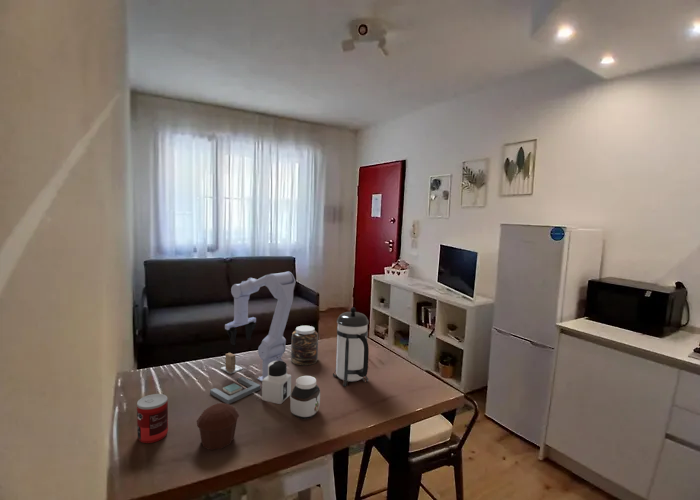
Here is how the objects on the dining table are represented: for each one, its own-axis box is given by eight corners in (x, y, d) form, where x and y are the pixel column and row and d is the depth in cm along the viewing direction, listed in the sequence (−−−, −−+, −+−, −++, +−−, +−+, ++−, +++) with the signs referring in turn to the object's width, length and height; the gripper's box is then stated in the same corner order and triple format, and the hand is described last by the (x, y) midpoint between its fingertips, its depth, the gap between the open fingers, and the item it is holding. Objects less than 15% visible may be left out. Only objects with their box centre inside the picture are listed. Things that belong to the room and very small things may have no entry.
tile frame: (260, 389, 133) (260, 385, 133) (228, 404, 122) (228, 400, 121) (242, 380, 139) (242, 376, 139) (210, 393, 128) (210, 389, 128)
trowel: (232, 365, 153) (233, 350, 152) (242, 369, 149) (243, 355, 148) (220, 369, 148) (220, 355, 147) (230, 374, 144) (230, 359, 143)
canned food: (145, 427, 107) (144, 393, 106) (172, 427, 108) (172, 393, 107) (131, 444, 99) (131, 407, 98) (161, 443, 100) (160, 407, 99)
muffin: (217, 457, 95) (217, 423, 94) (187, 446, 100) (187, 412, 99) (246, 433, 106) (247, 402, 105) (218, 423, 111) (218, 393, 110)
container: (291, 394, 130) (292, 360, 129) (280, 404, 123) (281, 369, 121) (273, 390, 132) (273, 357, 131) (261, 400, 125) (262, 365, 124)
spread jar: (305, 424, 112) (306, 389, 111) (278, 413, 117) (278, 380, 116) (326, 407, 122) (327, 375, 121) (300, 398, 128) (300, 367, 127)
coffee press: (324, 383, 139) (327, 309, 136) (340, 368, 154) (343, 301, 151) (366, 393, 133) (369, 316, 130) (378, 376, 147) (382, 306, 144)
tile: (242, 390, 132) (242, 387, 132) (230, 395, 128) (230, 392, 128) (234, 386, 135) (234, 382, 135) (222, 391, 131) (222, 387, 131)
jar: (310, 353, 168) (311, 323, 167) (321, 362, 158) (322, 330, 157) (287, 357, 162) (288, 326, 161) (297, 367, 152) (297, 334, 151)
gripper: (249, 306, 159) (248, 335, 160) (220, 312, 147) (220, 344, 148) (259, 309, 154) (258, 339, 156) (230, 316, 143) (230, 348, 144)
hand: (240, 341), depth 152 cm, fingers open, 7 cm apart
